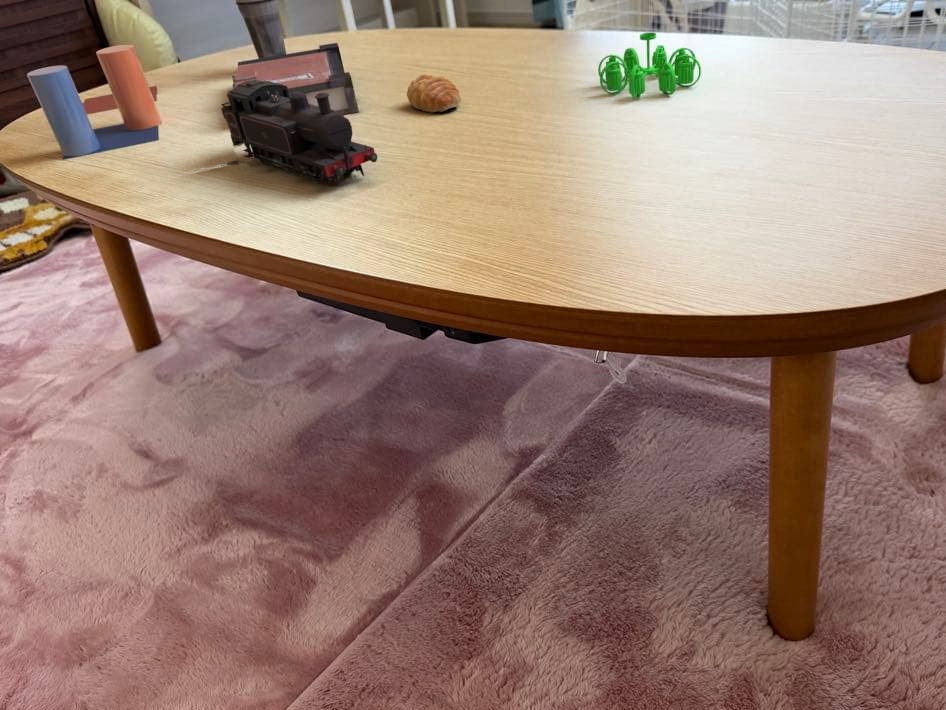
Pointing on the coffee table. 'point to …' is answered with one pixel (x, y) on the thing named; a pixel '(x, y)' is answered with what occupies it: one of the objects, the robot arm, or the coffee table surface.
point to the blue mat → (122, 137)
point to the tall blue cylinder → (64, 110)
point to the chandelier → (649, 70)
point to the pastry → (433, 93)
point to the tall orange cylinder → (129, 87)
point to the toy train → (293, 131)
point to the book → (305, 76)
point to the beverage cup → (263, 26)
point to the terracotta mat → (107, 102)
